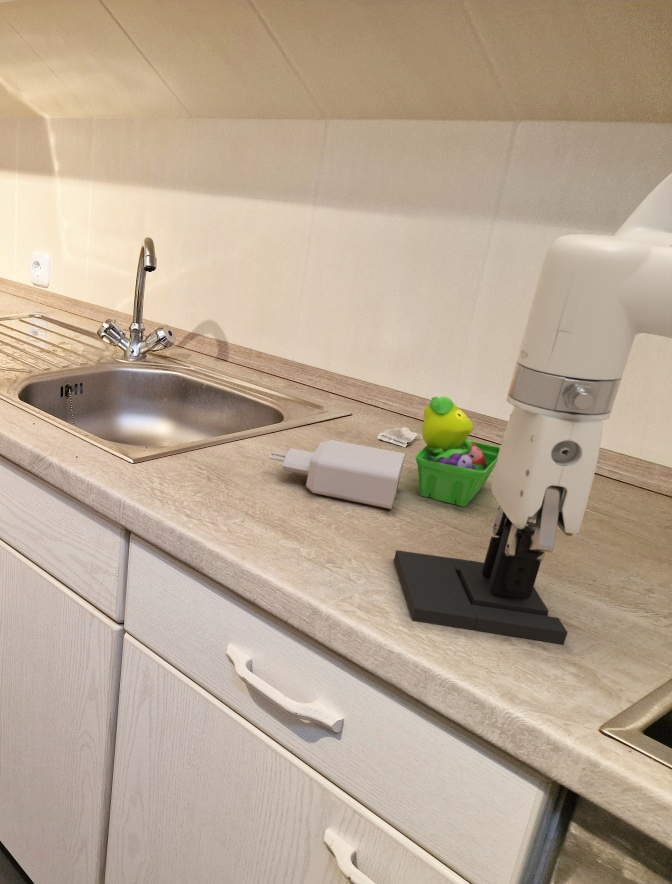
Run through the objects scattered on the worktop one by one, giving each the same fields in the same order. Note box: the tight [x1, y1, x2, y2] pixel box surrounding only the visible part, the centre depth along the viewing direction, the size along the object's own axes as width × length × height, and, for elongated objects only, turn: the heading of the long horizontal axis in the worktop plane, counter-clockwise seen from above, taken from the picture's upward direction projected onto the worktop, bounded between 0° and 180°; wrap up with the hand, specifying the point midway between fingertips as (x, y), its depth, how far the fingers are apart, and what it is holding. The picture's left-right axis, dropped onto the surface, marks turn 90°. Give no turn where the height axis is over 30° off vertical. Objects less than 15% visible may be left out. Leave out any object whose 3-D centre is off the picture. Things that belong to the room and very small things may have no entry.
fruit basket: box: [415, 396, 500, 508], centre depth 102 cm, size 11×9×11 cm
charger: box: [267, 439, 406, 510], centre depth 102 cm, size 5×9×15 cm
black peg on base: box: [459, 526, 549, 616], centre depth 76 cm, size 6×6×7 cm
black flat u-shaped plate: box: [393, 549, 569, 645], centre depth 78 cm, size 12×12×1 cm
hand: (504, 585), depth 77 cm, fingers closed on black peg on base, 2 cm apart
